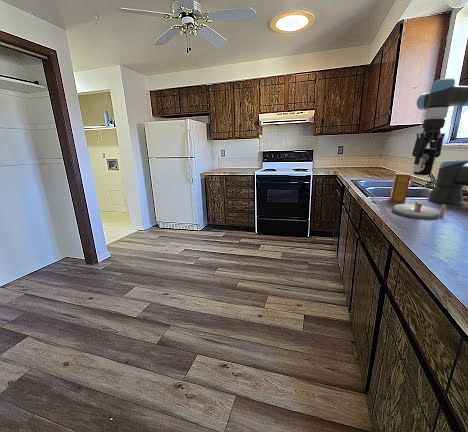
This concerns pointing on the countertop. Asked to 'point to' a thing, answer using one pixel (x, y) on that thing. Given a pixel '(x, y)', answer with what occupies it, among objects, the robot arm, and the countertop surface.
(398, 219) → the countertop surface
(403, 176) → the baking soda box
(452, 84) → the robot arm
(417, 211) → the disc
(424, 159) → the beverage can
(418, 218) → the base
